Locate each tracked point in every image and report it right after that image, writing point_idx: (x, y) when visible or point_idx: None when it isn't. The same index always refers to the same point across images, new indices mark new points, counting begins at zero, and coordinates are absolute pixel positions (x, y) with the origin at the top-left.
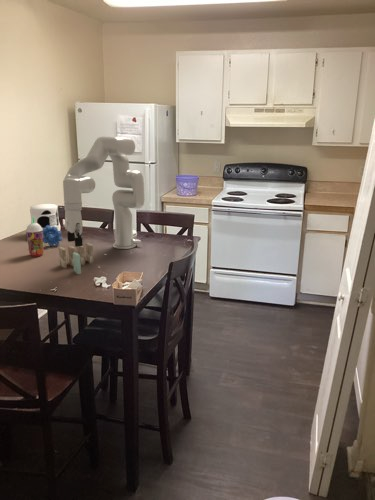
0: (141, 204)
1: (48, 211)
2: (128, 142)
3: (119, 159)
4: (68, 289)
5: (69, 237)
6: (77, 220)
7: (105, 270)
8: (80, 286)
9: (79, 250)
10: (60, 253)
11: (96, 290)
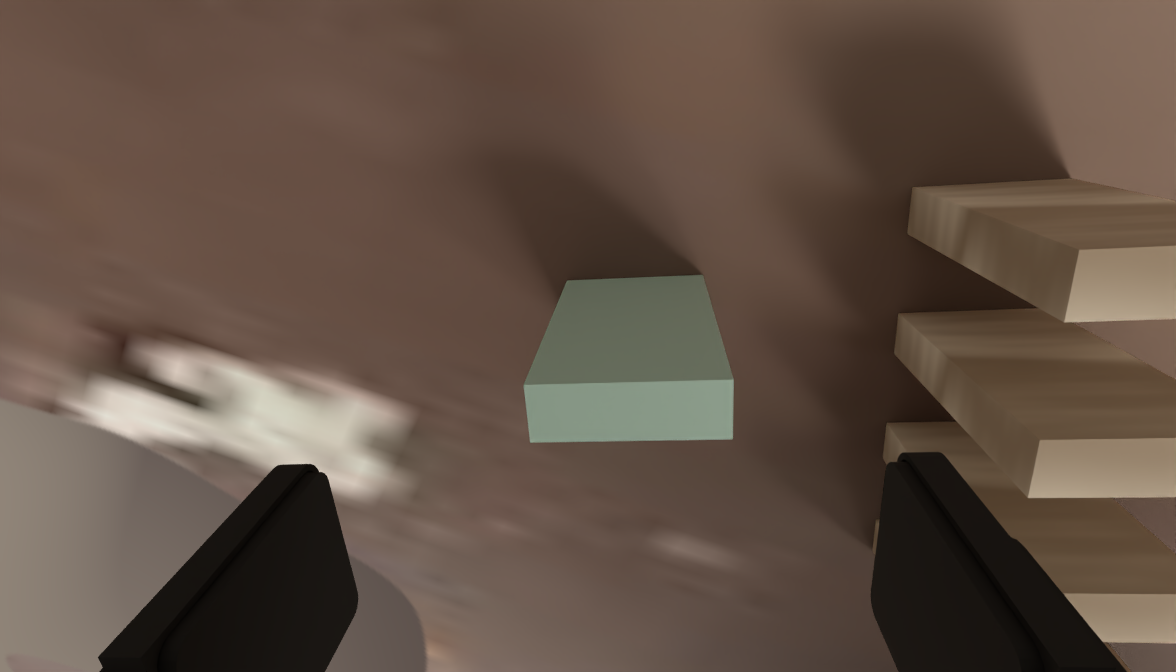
0: None
1: None
2: None
3: None
4: (96, 29)
5: (937, 570)
6: None
7: (553, 559)
8: (161, 187)
9: (1033, 538)
10: (1141, 218)
11: (16, 298)
